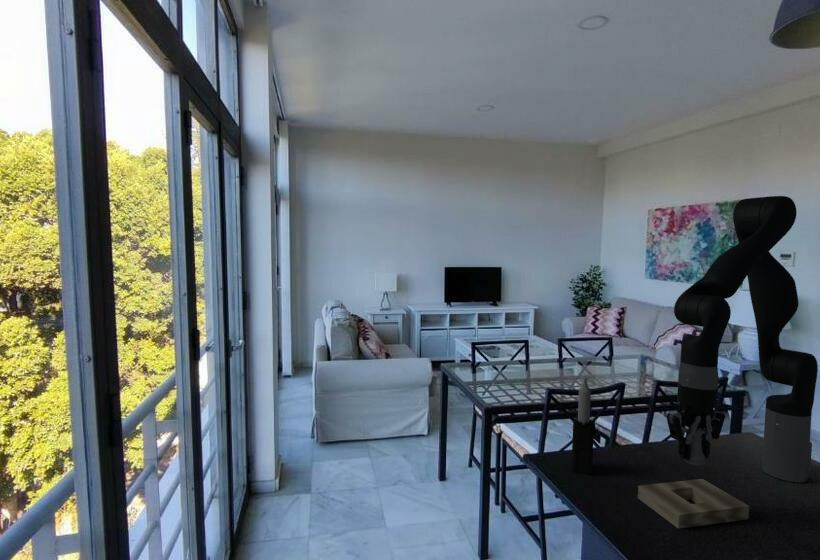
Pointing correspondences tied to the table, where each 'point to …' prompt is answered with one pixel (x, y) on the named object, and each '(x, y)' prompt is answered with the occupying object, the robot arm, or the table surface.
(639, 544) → the table surface
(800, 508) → the table surface
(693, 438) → the rook chess piece
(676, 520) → the socket board
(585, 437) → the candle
